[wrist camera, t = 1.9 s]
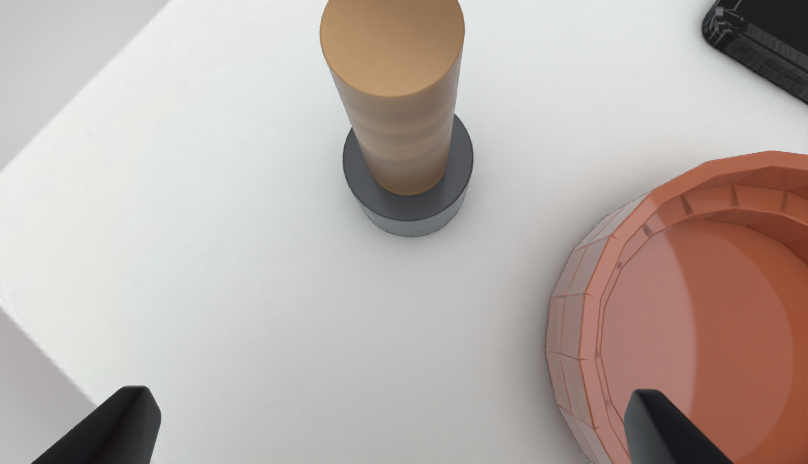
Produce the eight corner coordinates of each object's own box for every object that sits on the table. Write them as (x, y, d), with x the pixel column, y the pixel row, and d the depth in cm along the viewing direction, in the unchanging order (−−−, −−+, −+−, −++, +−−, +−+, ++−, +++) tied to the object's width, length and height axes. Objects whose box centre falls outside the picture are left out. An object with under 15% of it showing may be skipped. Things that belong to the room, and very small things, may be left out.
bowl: (811, 591, 20) (952, 691, 15) (490, 422, 22) (511, 457, 16) (923, 275, 22) (1085, 261, 17) (618, 140, 24) (675, 89, 18)
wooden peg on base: (436, 256, 23) (447, 182, 10) (337, 207, 24) (231, 81, 11) (484, 158, 24) (550, -25, 11) (386, 113, 24) (342, -109, 12)
